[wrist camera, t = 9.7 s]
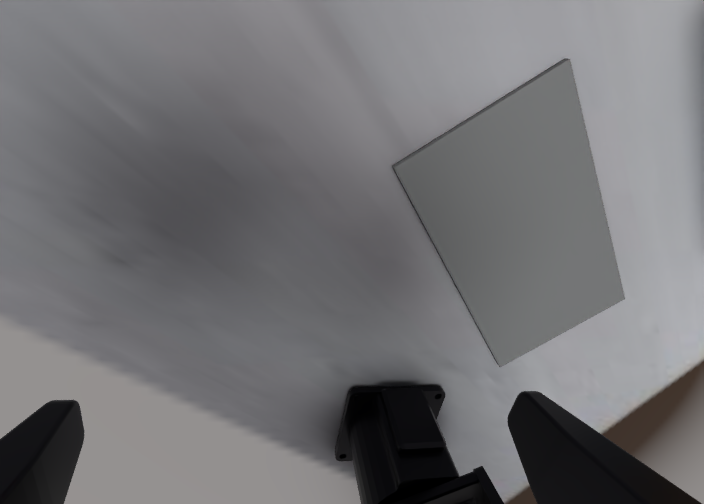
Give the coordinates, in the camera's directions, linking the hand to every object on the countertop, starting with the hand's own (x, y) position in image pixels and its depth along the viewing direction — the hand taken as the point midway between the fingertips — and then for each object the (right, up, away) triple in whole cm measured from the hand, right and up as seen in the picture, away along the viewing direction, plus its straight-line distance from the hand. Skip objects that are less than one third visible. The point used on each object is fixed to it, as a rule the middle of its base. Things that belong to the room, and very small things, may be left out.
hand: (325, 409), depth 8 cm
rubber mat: (+10, +4, +14) cm, 18 cm away
